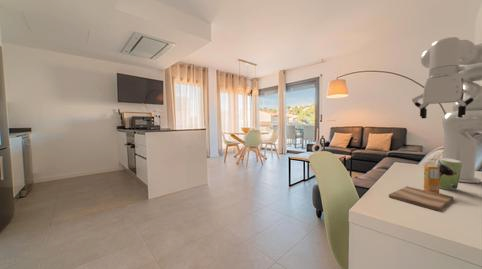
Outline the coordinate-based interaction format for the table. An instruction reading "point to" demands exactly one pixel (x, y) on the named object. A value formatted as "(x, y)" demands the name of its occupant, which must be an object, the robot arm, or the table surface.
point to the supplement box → (431, 178)
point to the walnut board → (422, 198)
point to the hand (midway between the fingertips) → (441, 117)
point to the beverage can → (449, 173)
